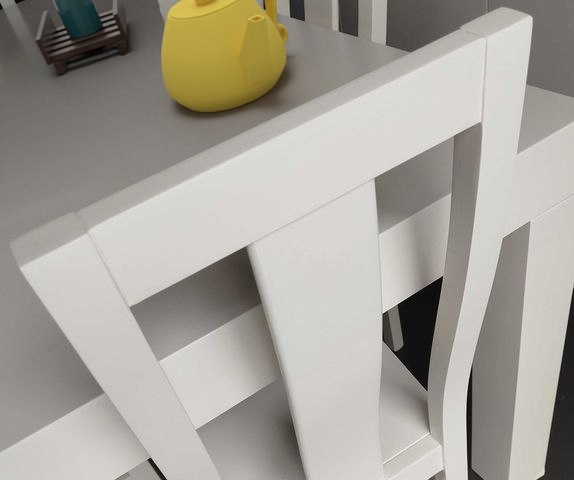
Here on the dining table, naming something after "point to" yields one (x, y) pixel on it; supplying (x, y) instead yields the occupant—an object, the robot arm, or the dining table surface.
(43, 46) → the rack
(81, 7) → the cup
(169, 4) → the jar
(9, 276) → the dining table surface
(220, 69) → the teapot
